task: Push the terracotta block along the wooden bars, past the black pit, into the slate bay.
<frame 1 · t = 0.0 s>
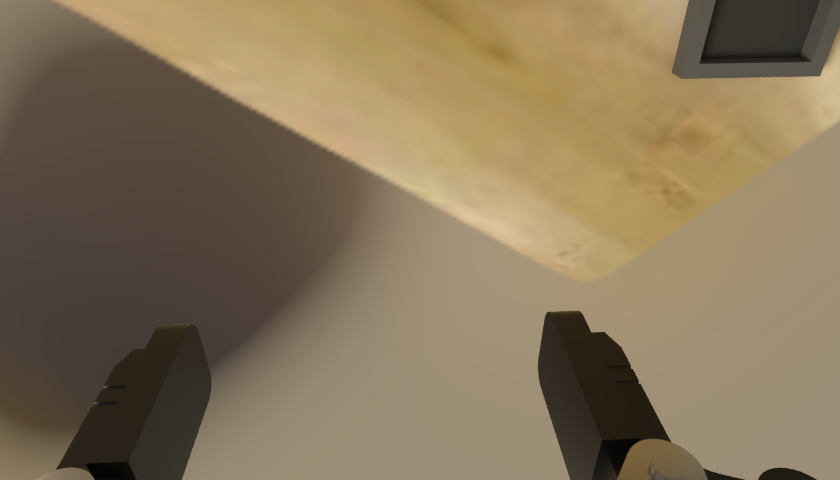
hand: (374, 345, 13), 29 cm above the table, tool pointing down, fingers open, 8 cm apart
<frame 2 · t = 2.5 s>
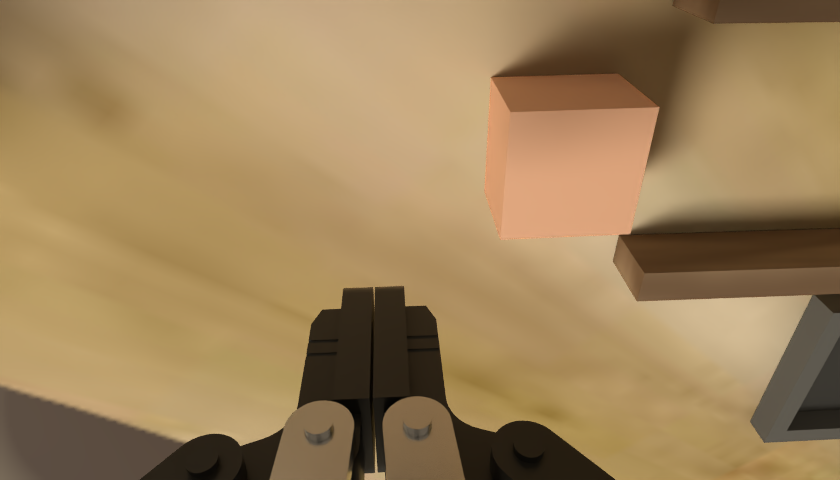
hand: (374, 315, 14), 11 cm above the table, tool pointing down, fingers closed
wooden bars: (827, 129, 23), on the table
terracotta block: (546, 134, 23), on the table
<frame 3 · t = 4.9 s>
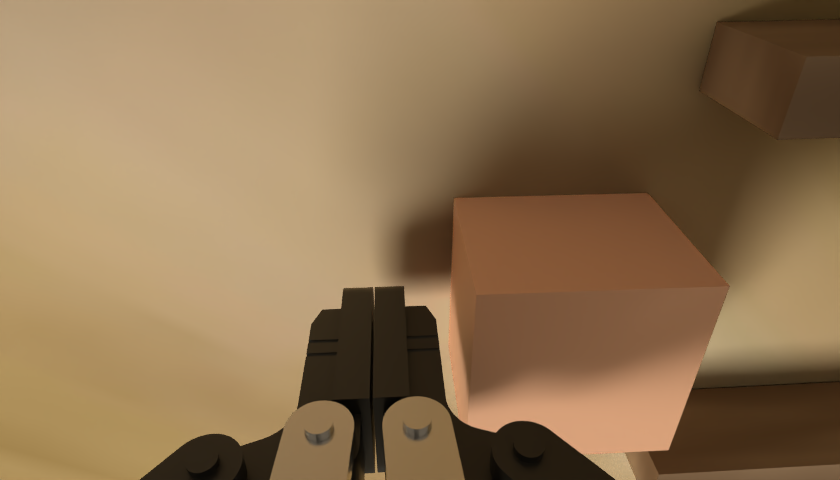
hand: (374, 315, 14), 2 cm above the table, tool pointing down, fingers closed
terracotta block: (540, 274, 15), on the table, touching gripper
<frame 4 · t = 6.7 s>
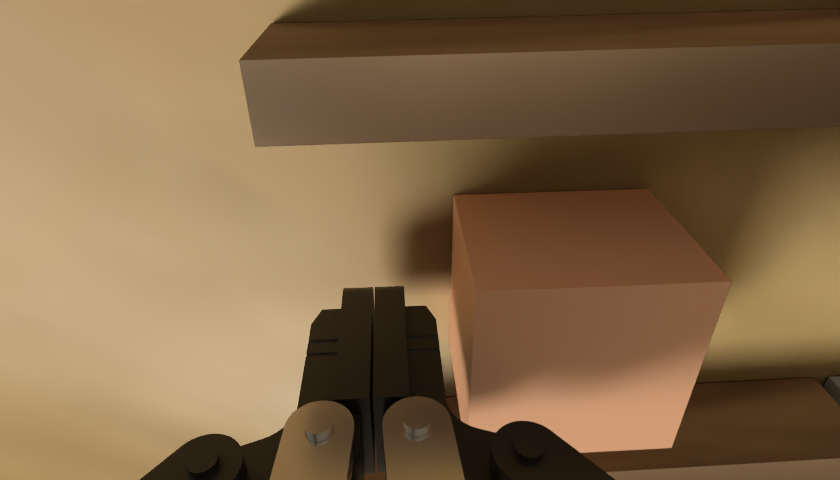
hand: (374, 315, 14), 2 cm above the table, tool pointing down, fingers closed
wooden bars: (599, 263, 15), on the table
terracotta block: (540, 272, 15), on the table, touching gripper
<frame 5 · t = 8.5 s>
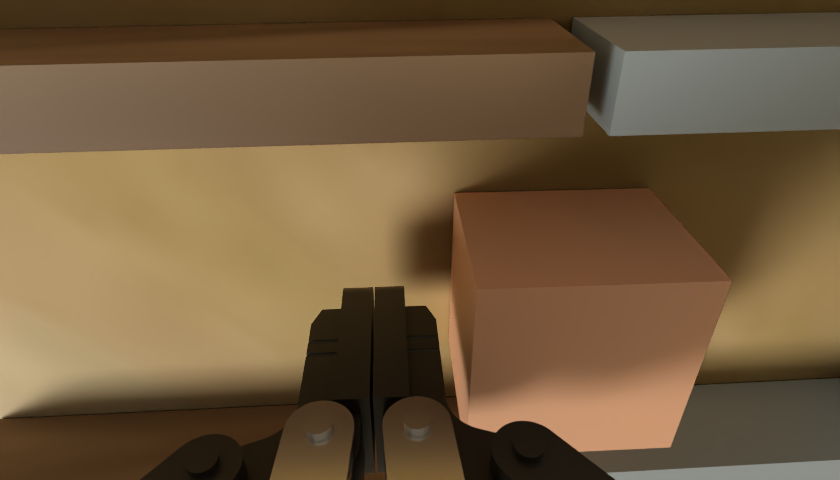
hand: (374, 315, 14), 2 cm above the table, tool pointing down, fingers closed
wooden bars: (228, 279, 15), on the table
slate bay: (734, 259, 15), on the table
terracotta block: (540, 271, 15), on the table, touching gripper
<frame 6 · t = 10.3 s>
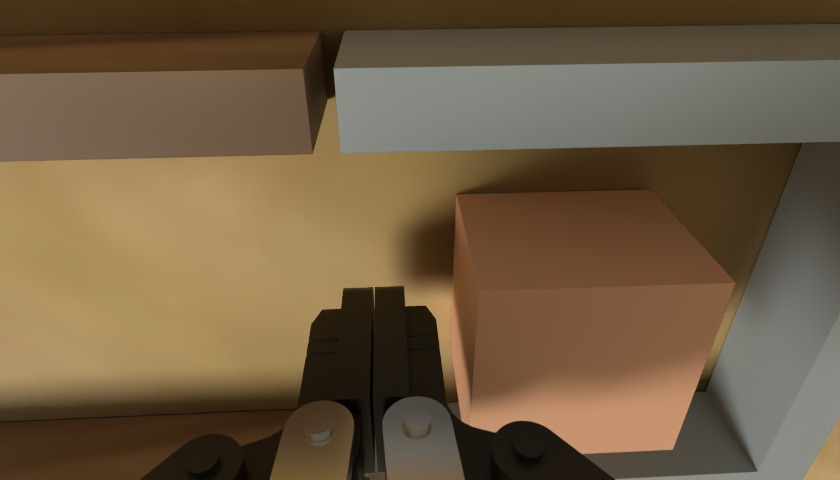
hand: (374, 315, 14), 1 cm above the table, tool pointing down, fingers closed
wooden bars: (42, 291, 15), on the table
slate bay: (561, 273, 15), on the table
terracotta block: (542, 272, 15), on the table, touching gripper
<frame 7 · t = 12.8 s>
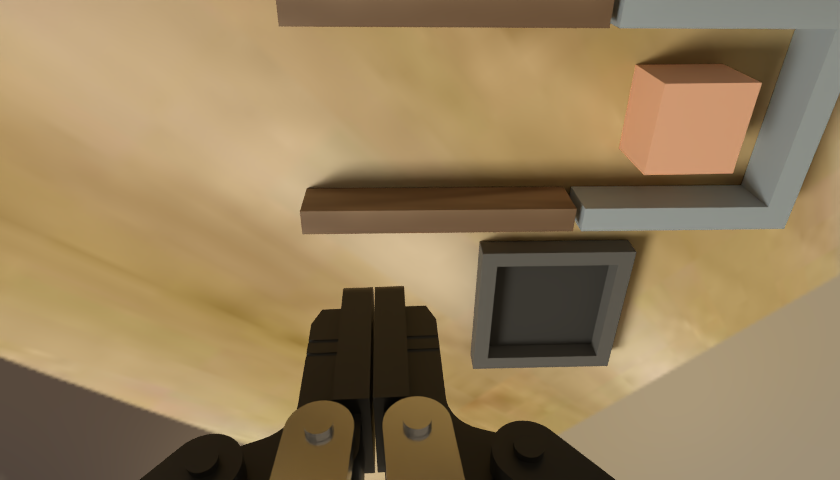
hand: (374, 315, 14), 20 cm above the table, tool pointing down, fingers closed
wooden bars: (438, 108, 32), on the table
slate bay: (676, 108, 32), on the table
terracotta block: (667, 107, 33), on the table
black pit: (544, 300, 39), on the table
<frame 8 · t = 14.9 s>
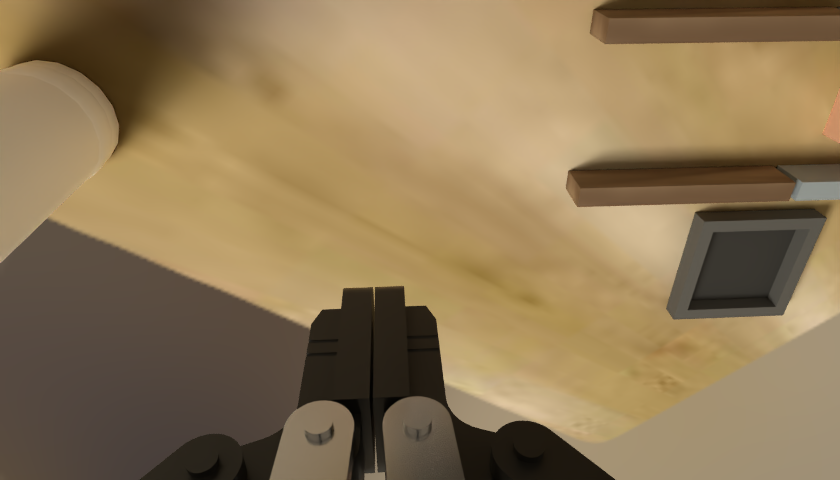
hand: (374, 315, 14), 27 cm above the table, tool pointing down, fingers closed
wooden bars: (687, 104, 40), on the table
bottle: (61, 116, 38), on the table
black pit: (736, 261, 48), on the table
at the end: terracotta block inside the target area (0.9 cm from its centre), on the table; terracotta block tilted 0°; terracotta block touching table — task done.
